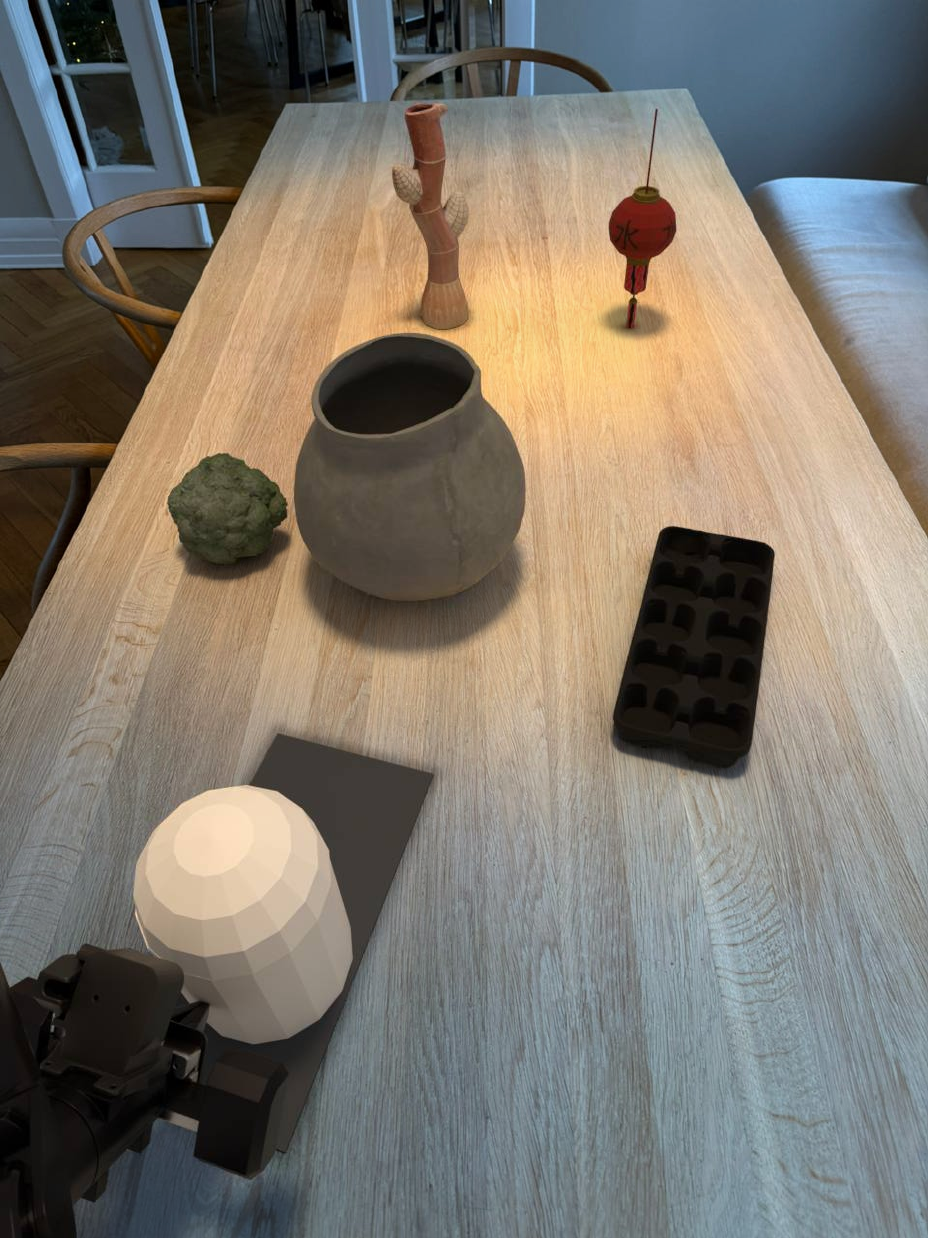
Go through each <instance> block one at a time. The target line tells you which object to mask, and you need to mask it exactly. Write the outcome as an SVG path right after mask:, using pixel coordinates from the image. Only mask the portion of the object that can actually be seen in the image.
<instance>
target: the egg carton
mask: <svg viewBox="0 0 928 1238" xmlns="http://www.w3.org/2000/svg"><path fill="white" fill-rule="evenodd" d="M775 558H776V553H775V550H774V548H773V547H772V546H771V545H770V544H768V543H766V542H763V541H759V540H755V539H751V538H743V537H739V536H733V535H727V534H721V533H715V532H709V531H708V532H707V531H703V530H698V529H693V528H688V527H683V526H678V525H670V526H669V525H668V526H666V527H664V528H662V529H661V530H660V531H659V533H658V536H657V538H656V544H655V548H654V552H653V556H652V560H651V562H650V566H649V571H648V575H647V579H646V583H645V587H644V592H643V595H642V599H641V603H640V606H639V610H638V614H637V619H636V623H635V625H634V626H635V627H634V630H633V634H632V637H631V638H632V639H631V642H630V647H629V650H628V652H627V653H628V654H627V657H626V660H625V661H626V662H625V665H624V669H623V672H622V676H621V679H620V680H621V681H620V685H619V689H618V692H617V696H616V701H615V705H614V709H613V713H612V721H613V726H614V728H615V729H616V730H617V734H618V736H619V739H621V740H622V742H624V743H627V744H629V745H631V746H635V747H641V748H643V749H660V748H662V747H664V746H667V745H672V746H674V747H675V748H674V749H677V750H681V751H684V752H685V753H686V755H687V757H689V759H690V760H692V761H695V762H697V763H701V764H705V765H709V766H713V767H717V768H725V769H726V768H730V767H732V766H734V765H736V764H737V763H738V761H739V759H742V758H744V757H746V755H748V754H749V753H750V750H751V747H752V743H753V737H754V728H755V720H756V714H757V713H756V712H757V706H758V705H757V704H758V697H759V688H760V682H761V674H762V673H761V672H762V664H763V659H764V658H763V657H764V649H765V642H766V633H767V632H766V631H767V623H768V615H769V608H770V600H771V592H772V583H773V574H774V567H775Z"/></svg>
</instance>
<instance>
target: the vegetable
mask: <svg viewBox="0 0 928 1238" xmlns="http://www.w3.org/2000/svg"><path fill="white" fill-rule="evenodd" d="M166 504H167V508H168V512H169V513H170V516H171V518H172V520H173V523H174V524H175V525H176V527H177V532H178V539H179V543H181V544H182V547H183V548H184V550H185V551H187V552H188V553H189V554H193V555H194V556H197V557H198V558H199V559H202V560H204V561H205V562H208V563H215V564H217V565H219V564H221V565H232V564H236V562H237V559H238V558H241V557H242V558H243V557H256V556H258V555H259V554H263V553H265V552H266V551H267V550H268V547H269V546H270V545H271V542H272V540H273V539H274V530H275V529H276V528H278V527H280V526H281V525H282V523H283V522H284V521H285V520H286V519H287V518H288V509H287V506H288V505H289V504H288V501H287V498H286V497H284V495H283V493H281V489H280V486H279V484H278V483H277V482H276V481H273V480H271V479H270V478H269V477H268V475H266V474H265V473H264V472H263V471H262V470H260V468H251V467H250V466H248V465H247V464H246V462H245V459H241V458H237V457H235V456H234V457H233V456H232V455H230V454H229V453H228V452H226V453H225V452H224V453H222V452H218V453H216V454H214V455H211V456H209V455H207V456H205V457H203V458H202V459H201V460H200V461H198V464H197V465H196V466H194V467H193V468H191V469H190V470H189V471H187V472H186V473H185V474H184V475H183V477H182V478H181V481H180V482H179V483H177V484H176V486H174V487H173V488H172V489H171V491H170V492H169V495H167V502H166Z"/></svg>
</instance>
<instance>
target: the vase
mask: <svg viewBox="0 0 928 1238" xmlns="http://www.w3.org/2000/svg"><path fill="white" fill-rule="evenodd" d="M447 112H448V108H447V106H446V105H445V104H444V103H437V102H434V103H418V102H417V103H415V104H413V105H410V106H409V107H408V108H406V110H405V112H404V120H405V125H406V127H407V131H408V136H409V140H410V144H411V147H412V153H413V166H412V167H410V166H408V165H406V164H403V163H395V164H394V165H393V167H392V170H391V178H392V186H393V189H394V191H395V194H396V197H398V199H400V201H401V202H404V203H407V204H409V210H410V213H411V215H412V218H413V220H414V222H415V224H416V226H417V228H418V230H419V231H420V234H421V236H422V238H423V240H424V243H425V246H426V251H427V278H426V282H425V285H424V288H423V292H422V296H421V300H420V317H421V319H422V321H423V323H424V324H425V326H428V327H430V328H432V329H436V330H449V329H454V328H455V329H456V328H458V327H460V326H462V325H464V324H465V323H466V321H467V320H468V319H469V308H468V302H467V296H466V294H465V290H464V287H463V284H462V282H461V278H460V272H459V269H460V268H459V258H460V244H459V239H458V238H459V237H460V236H461V235H462V233H463V232H464V231H465V229H466V226H467V224H468V221H469V207H468V203H467V199H466V197H465V195H464V193H462V192H461V191H453V193H452V194H450V196H448V198H447V200H446V201H445V202H444V205H443V204H442V192H443V191H442V190H443V182H444V177H445V175H444V174H445V167H446V160H447V153H446V145H445V139H444V136H443V131H442V126H441V122H440V120H441V117H443V116H444V115H445V114H447Z"/></svg>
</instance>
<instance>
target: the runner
mask: <svg viewBox="0 0 928 1238" xmlns="http://www.w3.org/2000/svg"><path fill="white" fill-rule="evenodd" d="M434 775H435V774H434V773H432V772H428V771H424V770H421V769H416V768H413V767H409V766H405V765H402V764H397V763H395V762H389V761H385V760H382V759H378V758H375V757H370V756H366V755H362V754H359V753H356V752H351V751H349V750H343V749H340V748H337V747H333V746H328V745H324V744H321V743H317V742H313V741H309V740H305V739H301V738H298V737H294V736H290V735H286V734H282V733H277V734H276V735H275V737H274V739H273V741H272V742H271V744H270V746H269V748H268V749H267V752H266V754H265V755H264V757H263V759H262V761H261V762H260V764H259V766H258V768H257V770H256V772H255V774H254V775H253V777H252V779H251V781H250V783H249V784H248V785H249V786H254V787H258V788H263V789H268V790H273V791H277V792H279V793H280V794H282V795H283V796H285V797H286V798H287V799H289V800H290V801H292V802H293V803H295V804H296V805H297V806H299V807H300V808H302V809H303V810H304V812H305V813H306V814H307V815H308V816H309V818H310V819H311V820H312V821H313V822H314V824H315V826H316V828H317V829H318V831H319V833H320V835H321V837H322V839H323V840H324V842H325V844H326V846H327V848H328V849H329V858H330V861H331V864H332V868H333V871H334V874H335V878H336V881H337V884H338V887H339V891H340V894H341V897H342V901H343V904H344V907H345V910H346V914H347V917H348V920H349V924H350V927H351V941H352V955H353V959H352V962H351V965H350V968H349V972H348V975H347V978H346V981H345V984H344V987H343V990H342V992H341V993H340V994H339V996H338V997H337V998H336V999H335V1001H334V1002H333V1003H332V1004H331V1006H330V1007H329V1008H328V1009H327V1011H326V1012H325V1013H324V1014H323V1016H322V1017H321V1018H320V1019H319V1020H318V1021H316V1022H314V1023H313V1024H311V1025H310V1026H308V1027H306V1028H305V1029H303V1030H301V1031H300V1032H298V1033H296V1034H295V1035H293V1036H291V1037H290V1038H288V1039H282V1040H276V1041H270V1042H264V1043H258V1044H250V1043H247V1042H243V1041H239V1040H235V1039H232V1038H228V1037H224V1036H221V1035H220V1034H219V1033H218V1032H217V1031H216V1030H215V1029H213V1028H212V1027H211V1026H210V1025H209V1024H208V1023H207V1022H206V1025H205V1028H204V1031H203V1033H204V1034H205V1035H206V1037H207V1039H208V1050H207V1056H206V1062H205V1067H204V1073H203V1079H202V1084H203V1085H205V1084H206V1082H207V1080H208V1078H209V1075H210V1073H211V1071H212V1069H213V1066H214V1064H215V1062H216V1061H217V1059H218V1058H219V1057H220V1056H221V1055H222V1054H223V1053H224V1052H226V1051H233V1050H239V1049H245V1050H248V1051H251V1052H254V1053H257V1054H260V1055H263V1056H266V1057H269V1058H271V1059H274V1060H277V1061H280V1062H282V1063H283V1064H284V1066H285V1068H286V1069H287V1071H288V1073H289V1079H288V1084H287V1090H286V1095H285V1101H284V1106H283V1112H282V1117H281V1123H280V1128H279V1134H278V1139H277V1145H276V1150H277V1151H280V1152H281V1153H284V1154H286V1153H287V1150H288V1148H289V1145H290V1143H291V1140H292V1138H293V1135H294V1133H295V1130H296V1128H297V1125H298V1122H299V1121H300V1117H301V1114H302V1112H303V1110H304V1107H305V1105H306V1102H307V1099H308V1098H309V1095H310V1092H311V1089H312V1087H313V1085H314V1081H315V1080H316V1076H317V1074H318V1071H319V1069H320V1066H321V1064H322V1061H323V1059H324V1056H325V1054H326V1052H327V1048H328V1046H329V1043H330V1041H331V1038H332V1036H333V1033H334V1030H335V1028H336V1026H337V1023H338V1020H339V1018H340V1015H341V1013H342V1011H343V1007H344V1005H345V1003H346V1001H347V998H348V995H349V993H350V989H351V987H352V985H353V982H354V979H355V977H356V975H357V972H358V970H359V966H360V964H361V962H362V960H363V957H364V954H365V951H366V949H367V947H368V945H369V942H370V939H371V936H372V934H373V931H374V928H375V926H376V923H377V921H378V918H379V916H380V913H381V911H382V908H383V905H384V903H385V900H386V898H387V896H388V893H389V890H390V887H391V885H392V883H393V881H394V878H395V875H396V873H397V870H398V867H399V866H400V862H401V859H402V858H403V854H404V852H405V850H406V847H407V844H408V841H409V839H410V837H411V834H412V831H413V829H414V826H415V824H416V822H417V819H418V817H419V815H420V811H421V809H422V806H423V803H424V801H425V798H426V796H427V793H428V790H429V788H430V785H431V783H432V781H433V778H434ZM186 1004H189V1002H188V1001H187V999H186V998H185V997H184V995H183V994H182V993H181V992H180V994H179V995H178V998H177V1001H176V1004H175V1007H178V1006H182V1005H186ZM276 1150H275V1151H276Z"/></svg>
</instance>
